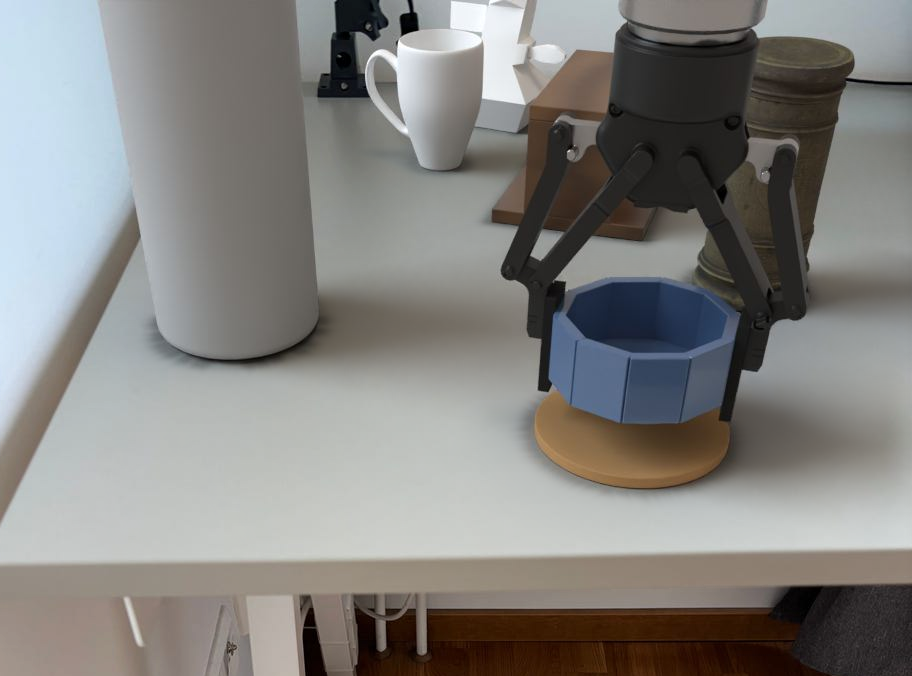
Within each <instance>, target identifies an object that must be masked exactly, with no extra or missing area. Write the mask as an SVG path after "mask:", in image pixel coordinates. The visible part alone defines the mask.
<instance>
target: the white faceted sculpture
mask: <svg viewBox="0 0 912 676" xmlns="http://www.w3.org/2000/svg"><path fill="white" fill-rule="evenodd" d="M537 3H538V0H489V2H488V5H487V4H481V3H473V2H464V1H457V0H450V21H449V22H450V27H449V29H451V30H460V31H466V32H474V33H481V36H480V38H481V39H482V40H483V44H484V64H483V92H482V101H481V106H480V111H479V114H478V118H477V121H476V124H475V126H474V127H476V128H483V129H487V130H494V131H501V132H506V133H507V132H508V133H515V134H517V133H519V132H520V131H521V130H522V129H524V128H525V127H526V126H527V125H529V110H530V104H531V103H532V102H533V101H534V100H535V98H536V97H537V96H538V95H539V94H540V92H541V91H542V90H543V89H544V88H545V86H546V85H547V84H548V83H549V82H550V81H551V79H549V78H548V76H546V75H545V74H544V73H543V72H542V71H541V70H540V69H539V68H538V67H536V66H535V65H534V63H532V62H531V61H530V60H531V59H533V60H535V61H537V62H540V63H544V64H545V63H546V64H554V65H556V64H558V63H560V62H562V61H564V60H565V59H567V56H568V53H567V52H566V51H564V50H563V49H562V48H561V47H560V46H558V45H557V44H549V43H547V44H541V45H536V43H537V39H535V38H534V37H532V36H531V32H532V28H533V23H534V19H535V14H536V11H537V10H536V9H537Z"/></svg>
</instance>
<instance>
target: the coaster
mask: <svg viewBox="0 0 912 676" xmlns="http://www.w3.org/2000/svg"><path fill="white" fill-rule="evenodd" d="M719 415H720V410H719V409H718V407H717V408H715V409H713V410H710V411H708V412H706V413H703V414H701V415H699V416H697V417H694V418H692V419H690V420H687V421H685V422H683V423H680V422H679V423H662V424H633V423H622V422H621V423H618V422H615V421H612V420H609V419H606V418H603V417H600V416H598V415H595V414H592V413H589V412H587V411H584V410H581V409H578V408H575V407H572V406H571V405H569V404H568V403H567V401H566V400H565V399H564V398H563V396H562V395H561V394H560V393H559V391H558V390H557V389H555V390H554V391H552V392H551V393H550V394H549V395H547V396H546V397H545V398H544V399H543V400H542V401H541V402H540V404H539V406H538V407H537V410H536V412H535V415H534V427H533V431H534V437H535V441H536V442H537V445H538V446H539V448H540V449H541V451H542V452H543V453H544V454H545V455H546V456H547V457H548V459H550V460H551V461H552V462H553V463H555V464H556V465H557V466H559V467H561V468H562V469H564V470H565V471H568V472H569V473H572V474H573V475H575V476H578V477H581V478H583V479H585V480H588V481H591V482H596V483H599V484H603V485H608V486H613V487H619V488H628V489H629V488H630V489H659V488H667V487H674V486H678V485H683V484H687V483H690V482H692V481H695V480H697V479H698V480H699V479H700V478H701V477H703V476H706V475H707V474H709V473H710V472H712V471H713V470H714V469H716V468H717V467H718V465H720V464H721V462H722V461H723V460H724V458H725V457H726V454H727V451H728V449H729V445H730V437H731V433H730V426H729V423H728V422H724V421H718V420H719Z"/></svg>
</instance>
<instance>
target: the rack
mask: <svg viewBox="0 0 912 676" xmlns="http://www.w3.org/2000/svg"><path fill="white" fill-rule="evenodd" d="M613 54H614V52H611V51H600V50H599V51H598V50H590V49H578V48H577V49H575V51H574V52H573V53H572V55H570V57H568V59H567V60H566V61H565V62H564V64H563V65H562V66H561V67H560V68H559V70H558V71H557V72H556V73H555V74H554V76H552V78H551V79H550V82H549V83H548V84H547V85H546V86H545V88H544V89H543V90H542V91H541V92H540V94H539V95H538V96H537V97H536V98H535V100H534V101H533V102H532V103H531V104H530V110H529V124H528V129H527V130H528V131H527V143H526V144H527V147H526V161H525V165H523V167H522V168H521V170H519V172H518V173H517V175H516V176H515V178H514V179H513V180H512V182H511V183H510V184H509V185H508V187H507V189H506V190H505V191H504V192H503V194H502V195H501V196H500V198H499V199H498V200H497V202H496V203H495V204H494V206H493V207H492V209H491V222H492V223H498V224H499V223H501V224H509V225H515V226H519V225H520V223H521V220H522V218H523V216H524V213H525V211H526V209H527V207H528V204H529V202H530V200H531V197H532V195H533V193H534V191H535V188H536V186H537V184H538V181H539V179H540V177H541V174H542V172H543V170H544V168H545V165H546V155H547V142H548V133H549V130H550V128H551V127H552V126H553V124H554V123H555V121H556V120H557V119H558V118H559V116H560V115H561V114H562V113H563V112H566V111H570V112H573V113H574V114H575V115H576V116H577V118H578V119H580V120H589V121H598V122H602V120H603V119H604V117H605V115H606V112H607V108H608V102H609V92H610V83H611V73H612V63H613ZM611 175H612V174H611V172H610V171H609V169H608V167H607V165H606V163H605V161H604V159H603V158H602V156H601V154H600V152H599V150H598V148H597V146H596V145H591V146H589V147H587V150H586V152H585V154H584V155H583V157H582V158H581V159H580V160H579V161H576V162H572V164H571V167H570V169H569V172H568V174H567V176H566V178H565V180H564V183H563V185H562V187H561V189H560V191H559V194H558V196H557V198H556V200H555V202H554V205H553V207H552V209H551V211H550V213H549V216H548V218H547V220H546V222H545V224H544V227H543V229H546V230H554V231H561V232H566V230H567V229H568V228H569V227H570V226H571V224H572V223H573V222H574V221H575V219H576V218H577V217H578V216H579V215H580V213H581V212H582V211H583V210H584V209H585V207H586V206H587V205H588V204H589V202H590V201H591V200H592V199H593V198H594V196H595V195H596V194H597V193H598V192H599V190H600V189H601V188H602V186H603V185H604V184H605V182H606V181H607V180H608V179H609V177H610V176H611ZM657 209H658V207H653V208H639V207H634V203H632V202H630V201H629V200H628V199H626V198H625V199H624V200H623V201H622V202H621V203H620V204H619V206H618V207H617V208H616V209H615V210H614V211H613V213H612V214H611V215H610V216H609V217H607V219H606V220H605V221H604V222H603V223H602V224H601V226H600V227H599V228H598V229H597V230H596V232H595V233H594V234H593V235H594V236H600V237H608V238H614V239H615V238H617V239H623V240H631V241H639V242H642V241H643V239H644V237H645V235H646V232H647V230H648V228H649V226H650V225H651V222H652V220H653V217H654V216H655V213H656V210H657ZM593 235H592V236H593Z"/></svg>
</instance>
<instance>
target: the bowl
mask: <svg viewBox="0 0 912 676" xmlns="http://www.w3.org/2000/svg"><path fill="white" fill-rule="evenodd" d="M740 315H741V313H740V312H739V311H737V310H734V309H733V308H732V307H731V306H730V305H728V304H727V303H726V302H725V301H724V300H723V299H721V298H720V297H719V296H718V295H717V294H716V293H714V292H712V291H711V290H708V289H704V288H701V287H697V286H694V285H693V284H690V283H686V282H682V281H679V280H676V279H672V278H669V277H662V276H608V277H607V276H606V277H603V278H601V279H597V280H594V281H591V282H589V283H586V284H582V285H579V286H578V287H575V288H571V289H568V290H567V291H565V295H564V297H563V299H562V301H561V302H560V304H559V306H558V308H557V310H556V312H555V313H554V315H553V324H552V338H551V351H550V364H549V380H550V381H551V383H552V386H554V388H555V390H558V391H559V393H560V394H561V395H562V396H563V398H564V399H565V400H566V401H567V403H568V404H569V405H571V406H572V407H575V408H578V409H581V410H584V411H587V412H589V413H592V414H595V415H598V416H600V417H603V418H606V419H609V420H612V421H615V422H618V423H621V422H622V423H633V424H662V423H679V422H680V423H683V422H685V421H687V420H690V419H692V418H694V417H697V416H699V415H701V414H703V413H706V412H708V411H710V410H713V409H715V408H717V409H718V408H719V407H721V405H722V403H723V398H724V393H725V388H726V383H727V378H728V373H729V368H730V363H731V358H732V353H733V348H734V343H735V336H736V331H737V326H738V322H739V319H740Z"/></svg>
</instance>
